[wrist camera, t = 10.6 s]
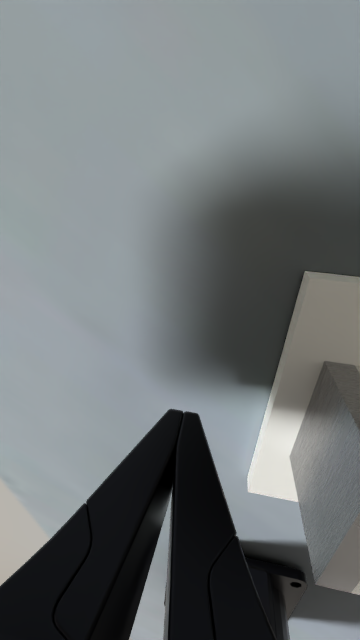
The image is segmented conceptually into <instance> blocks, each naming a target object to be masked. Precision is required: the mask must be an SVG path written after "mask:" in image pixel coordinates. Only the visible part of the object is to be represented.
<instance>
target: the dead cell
mask: <svg viewBox="0 0 360 640" xmlns="http://www.w3.org/2000/svg"><path fill="white" fill-rule="evenodd" d="M290 462H291V467H292V472H293V477H294V482H295V487H296V492H297V497H298V502H299V507H300V512H301V516H302V521H303V526H304V531H305V536H306V541H307V546H308V551H309V556H310V561H311V566H312V571H313V576H314V581H315V585H318V586H323V587H327V588H331V589H336V590H340V591H344V592H349V593H353V594H357V595H360V366H357V365H350V364H343V363H336V362H330V361H324V363H323V366H322V369H321V371H320V374H319V377H318V380H317V382H316V385H315V388H314V391H313V393H312V396H311V399H310V402H309V404H308V407H307V410H306V413H305V415H304V418H303V421H302V424H301V426H300V429H299V432H298V435H297V437H296V440H295V443H294V446H293V448H292V451H291V454H290Z"/></svg>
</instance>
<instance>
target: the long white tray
mask: <svg viewBox="0 0 360 640" xmlns="http://www.w3.org/2000/svg"><path fill="white" fill-rule="evenodd" d="M324 361H330V362H336V363H343V364H350V365H357V366H360V277H354V276H346V275H337V274H328V273H319V272H310V271H305V272H304V276H303V279H302V283H301V286H300V290H299V294H298V297H297V301H296V304H295V308H294V311H293V315H292V319H291V322H290V326H289V329H288V333H287V337H286V340H285V344H284V347H283V351H282V355H281V358H280V362H279V365H278V369H277V373H276V376H275V380H274V383H273V387H272V391H271V394H270V398H269V401H268V405H267V408H266V412H265V416H264V419H263V423H262V426H261V430H260V434H259V437H258V441H257V444H256V448H255V452H254V455H253V459H252V462H251V466H250V470H249V473H248V477H247V482H248V492H251V493H256V494H261V495H266V496H271V497H275V498H280V499H285V500H290V501H295V502H298V497H297V492H296V487H295V482H294V477H293V472H292V467H291V462H290V454H291V451H292V448H293V446H294V443H295V440H296V437H297V435H298V432H299V429H300V426H301V424H302V421H303V418H304V415H305V413H306V410H307V407H308V404H309V402H310V399H311V396H312V393H313V391H314V388H315V385H316V382H317V380H318V377H319V374H320V371H321V369H322V366H323V363H324Z"/></svg>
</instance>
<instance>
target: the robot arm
mask: <svg viewBox="0 0 360 640" xmlns="http://www.w3.org/2000/svg"><path fill="white" fill-rule="evenodd" d="M172 487H173V489H172ZM171 492H172V501H171V517H170V534H169V551H168V568H167V583H166V592H165V602H164V605H165V619H164V637H163V640H290V637H289V629H288V621H287V620H288V619H289V617H290V615H291V614H292V612H293V610H294V609H295V607H296V605H297V603H298V602H299V600H300V598H301V597H302V595H303V593H304V592H305V590H306V588H307V581H306V576H305V573H304V572H302V571H301V570H298V569H294V568H290V567H285V566H281V565H276V564H272V563H268V562H263V561H259V560H255V559H250V558H246V557H244V554H243V551H242V548H241V545H240V542H239V539H238V537H237V536H236V530H235V527H234V524H233V520H232V517H231V514H230V511H229V508H228V505H227V502H226V499H225V495H224V492H223V489H222V486H221V483H220V480H219V477H218V474H217V470H216V467H215V464H214V461H213V458H212V455H211V452H210V448H209V445H208V442H207V439H206V436H205V433H204V430H203V427H202V423H201V420H200V417H199V415H198V414H197V413H193V412H187V411H186V412H184V413H183V411H181V410H175V409H169V410H168V411H167V412H166V413H165V415H164V416H163V417H162V418H161V419H160V420H159V421H158V422H157V423H156V424H155V426H154V427H153V428H152V429H151V430H150V431H149V432H148V433H147V434H146V435H145V437H144V438H143V439H142V440H141V441H140V442H139V443H138V444H137V445H136V447H135V448H134V449H133V450H132V451H131V452H130V453H129V454H128V455H127V456H126V458H125V459H124V460H123V461H122V462H121V463H120V464H119V465H118V466H117V468H116V469H115V470H114V471H113V472H112V473H111V474H110V475H109V476H108V477H107V479H106V480H105V481H104V482H103V483H102V484H101V485H100V486H99V487H98V488H97V490H96V491H95V492H94V493H93V494H92V495H91V496H90V497H89V498H88V500H87V501H86V503H84V504H83V505H82V506H81V507H80V508H79V509H78V510H77V511H76V513H75V514H74V515H73V516H72V517H71V518H70V519H69V520H68V521H67V522H66V523H65V524H64V525H63V526H62V528H61V529H60V530H59V531H58V532H57V533H56V534H55V535H54V536H53V537H52V538H51V539H50V540H49V541H48V542H47V543H46V544H45V545H44V546H43V547H42V548H41V549H40V550H38V551H37V552H36V553H35V554H34V555H33V556H32V557H31V558H30V559H29V560H28V561H27V562H26V563H25V564H24V565H23V566H22V567H20V568H19V569H18V570H17V571H16V572H15V573H14V574H13V575H12V576H11V577H10V578H8V579H7V580H6V581H5V582H4V583H3V584H2V585H1V586H0V640H129V637H130V634H131V630H132V627H133V624H134V620H135V617H136V613H137V610H138V606H139V603H140V600H141V596H142V593H143V589H144V586H145V582H146V579H147V576H148V572H149V569H150V565H151V562H152V558H153V555H154V552H155V548H156V545H157V541H158V538H159V535H160V531H161V528H162V524H163V521H164V517H165V514H166V511H167V507H168V504H169V500H170V496H171ZM86 504H87V505H86Z"/></svg>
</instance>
